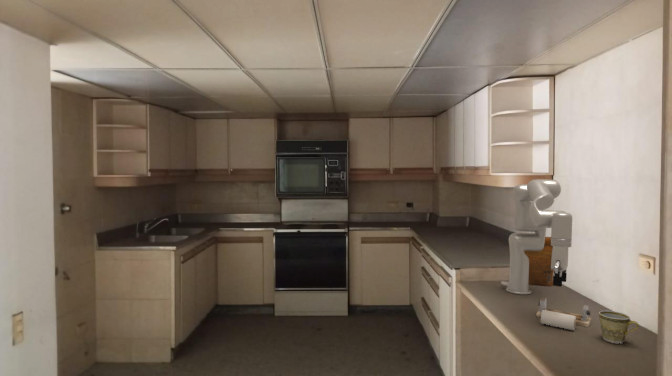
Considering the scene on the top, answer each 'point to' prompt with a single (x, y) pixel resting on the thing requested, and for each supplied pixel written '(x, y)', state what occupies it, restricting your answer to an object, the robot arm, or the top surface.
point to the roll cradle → (580, 319)
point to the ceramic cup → (614, 326)
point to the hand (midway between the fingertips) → (559, 283)
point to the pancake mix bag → (541, 265)
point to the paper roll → (558, 319)
